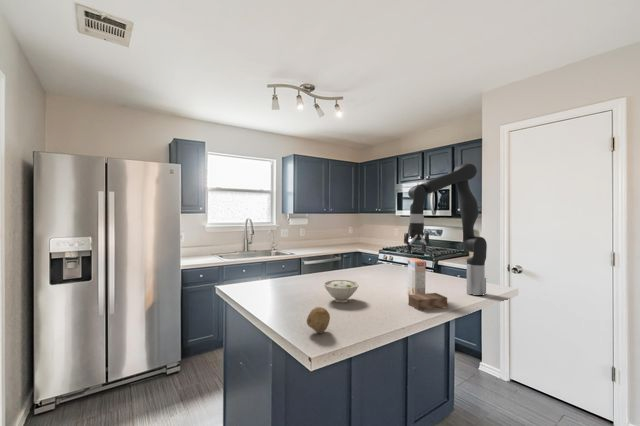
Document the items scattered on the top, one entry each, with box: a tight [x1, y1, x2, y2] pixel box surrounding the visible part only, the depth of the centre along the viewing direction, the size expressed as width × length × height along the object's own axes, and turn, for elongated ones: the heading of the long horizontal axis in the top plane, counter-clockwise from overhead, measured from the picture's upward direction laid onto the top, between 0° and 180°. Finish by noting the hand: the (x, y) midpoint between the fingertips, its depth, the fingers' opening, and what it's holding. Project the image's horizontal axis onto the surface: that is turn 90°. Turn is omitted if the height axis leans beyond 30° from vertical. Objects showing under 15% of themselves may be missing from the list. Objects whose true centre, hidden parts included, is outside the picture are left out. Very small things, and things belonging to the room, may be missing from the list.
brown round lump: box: [306, 306, 331, 334], centre depth 116 cm, size 9×9×10 cm
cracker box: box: [407, 257, 427, 296], centre depth 165 cm, size 14×6×21 cm, turn 179°
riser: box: [408, 292, 448, 311], centre depth 149 cm, size 16×9×5 cm, turn 104°
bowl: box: [322, 279, 360, 303], centre depth 159 cm, size 19×19×10 cm
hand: (416, 251), depth 164 cm, fingers open, 8 cm apart
